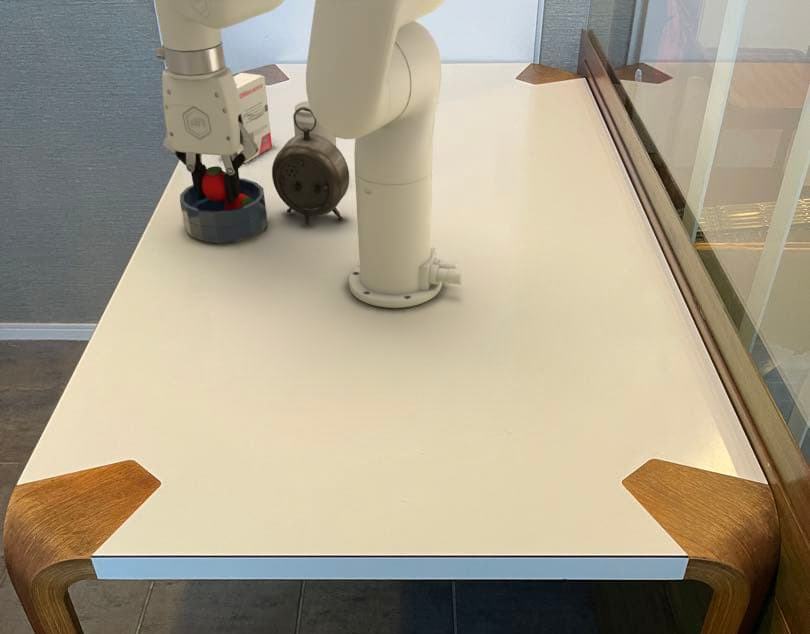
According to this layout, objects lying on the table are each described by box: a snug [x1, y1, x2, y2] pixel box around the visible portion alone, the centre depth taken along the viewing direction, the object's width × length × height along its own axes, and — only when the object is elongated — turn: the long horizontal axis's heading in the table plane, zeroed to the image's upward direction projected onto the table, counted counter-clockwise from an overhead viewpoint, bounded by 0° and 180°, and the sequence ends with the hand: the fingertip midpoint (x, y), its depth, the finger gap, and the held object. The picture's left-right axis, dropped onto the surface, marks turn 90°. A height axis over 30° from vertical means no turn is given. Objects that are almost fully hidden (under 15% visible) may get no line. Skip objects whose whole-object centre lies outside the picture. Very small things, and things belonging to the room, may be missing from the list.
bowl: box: [179, 177, 269, 243], centre depth 128 cm, size 12×12×5 cm
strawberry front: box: [224, 193, 253, 210], centre depth 127 cm, size 4×4×4 cm
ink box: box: [233, 72, 273, 164], centre depth 146 cm, size 8×5×12 cm, turn 152°
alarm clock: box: [271, 107, 350, 227], centre depth 125 cm, size 11×5×16 cm, turn 73°
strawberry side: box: [201, 166, 227, 202], centre depth 123 cm, size 4×4×4 cm
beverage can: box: [292, 100, 337, 147], centre depth 136 cm, size 6×6×12 cm
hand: (218, 196), depth 124 cm, fingers closed on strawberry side, 3 cm apart
